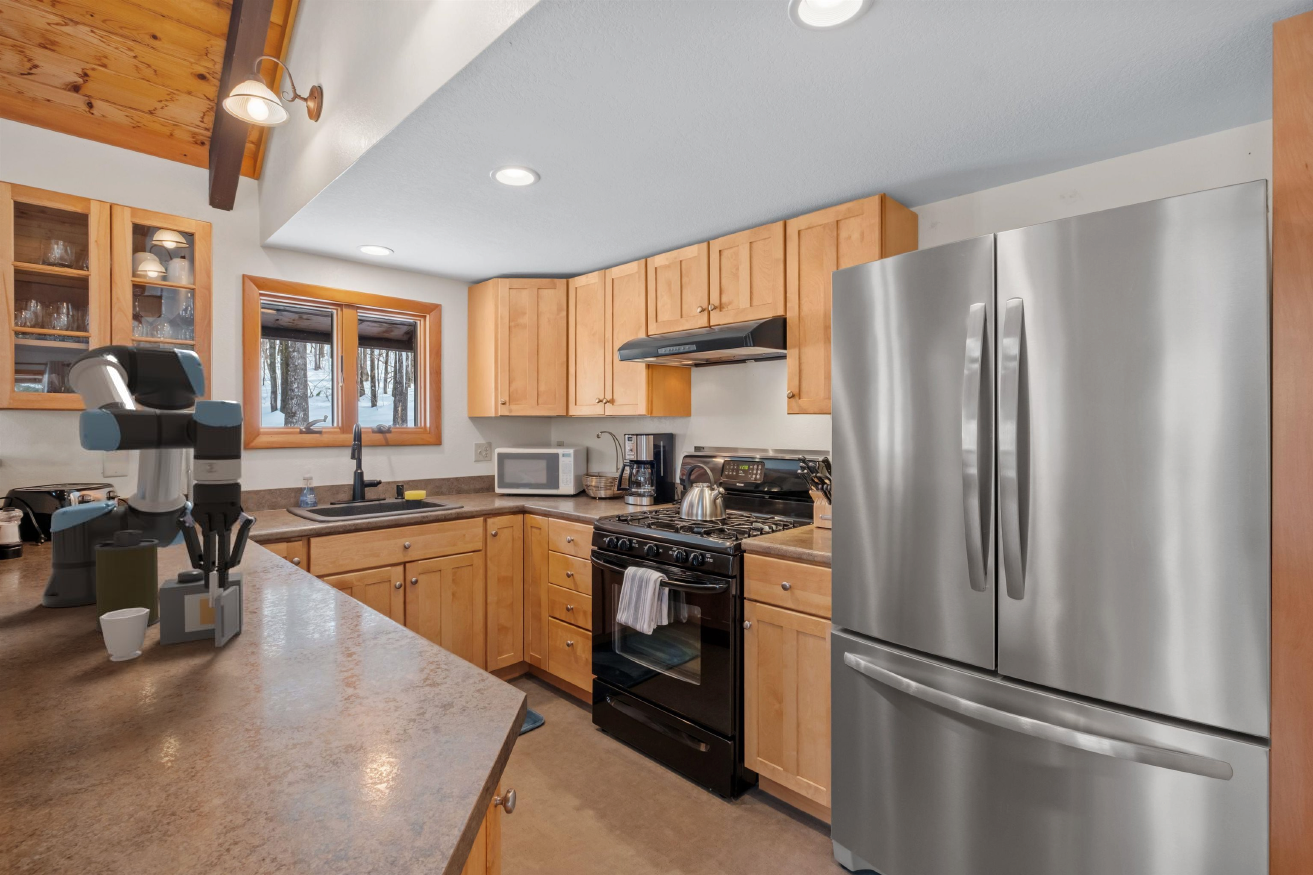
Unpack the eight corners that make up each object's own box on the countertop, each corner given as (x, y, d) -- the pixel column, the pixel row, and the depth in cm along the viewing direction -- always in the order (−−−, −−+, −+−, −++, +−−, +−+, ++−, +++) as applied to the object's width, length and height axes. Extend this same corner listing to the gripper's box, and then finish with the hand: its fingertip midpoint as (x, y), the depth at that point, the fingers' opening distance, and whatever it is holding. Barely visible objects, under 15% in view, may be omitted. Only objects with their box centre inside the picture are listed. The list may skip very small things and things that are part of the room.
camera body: (166, 633, 127) (165, 572, 126) (243, 622, 133) (242, 564, 133) (159, 645, 119) (158, 581, 119) (241, 634, 126) (240, 572, 126)
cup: (100, 667, 109) (99, 621, 109) (100, 651, 116) (99, 608, 116) (151, 657, 114) (150, 613, 113) (148, 643, 121) (147, 601, 121)
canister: (172, 617, 137) (171, 527, 137) (127, 633, 127) (126, 535, 126) (127, 616, 138) (126, 526, 138) (79, 631, 128) (77, 534, 127)
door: (214, 646, 116) (213, 598, 116) (232, 630, 125) (231, 585, 125) (223, 645, 116) (222, 598, 116) (240, 629, 126) (240, 585, 126)
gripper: (168, 483, 113) (167, 612, 113) (246, 483, 116) (245, 609, 116) (189, 479, 120) (188, 600, 121) (262, 479, 123) (261, 598, 124)
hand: (216, 604), depth 118 cm, fingers closed
